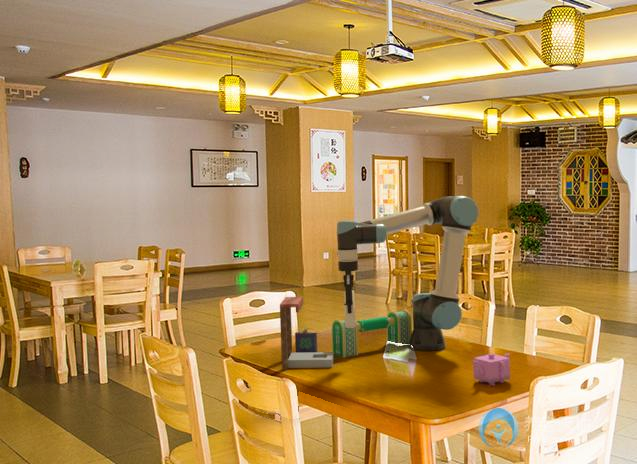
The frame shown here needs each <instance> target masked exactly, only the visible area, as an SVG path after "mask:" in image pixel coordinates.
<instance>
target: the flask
mask: <svg viewBox="0 0 637 464" xmlns="http://www.w3.org/2000/svg"><path fill="white" fill-rule="evenodd" d="M308 330H309V329H308V328H307V327H304V330H299V331H296V332H295V333H294V339H295V342H294V343H295V347H294V348H295V353H307V352H319V351H318V332H317V331H308Z"/></svg>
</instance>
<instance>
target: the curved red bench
mask: <svg viewBox="0 0 637 464" xmlns="http://www.w3.org/2000/svg"><path fill="white" fill-rule="evenodd" d="M303 305H304V296H285V297H284V298H283V300H282V301H281V302H280V304H279V316H280V317H279V318H280V321H279V322H280V346H281V347H280V349H281V371H287V370H288V369H289V368H288V359H289V357H290V355H291V353H293V333H292V331H293V330H292V327H293V326H292V308H295V313H299V312H300V311H301V309H302V307H303Z"/></svg>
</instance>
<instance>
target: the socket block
mask: <svg viewBox="0 0 637 464" xmlns="http://www.w3.org/2000/svg"><path fill="white" fill-rule="evenodd" d="M334 356H335V354H334V352H333V351H329V352H328V351H326V352H323V351H320V352H319V351H318V352H307V353H296V352H292V353H291V355H290V357H289V359H288V369H289V368H290V369H293V368H294V369H296V368H299V369H301V368H302V369H303V368H309V369H311V368H333V365H334V360H335V357H334Z"/></svg>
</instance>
